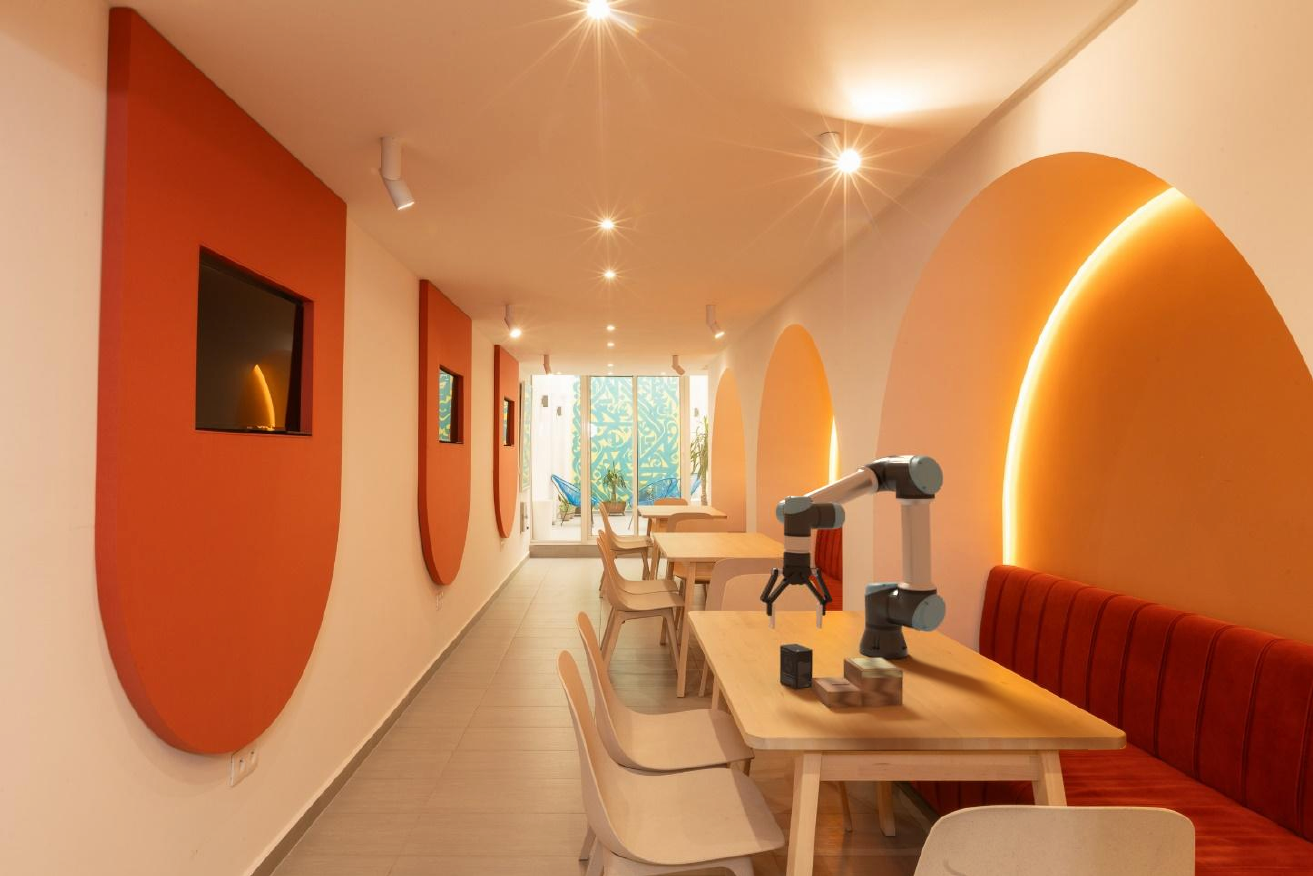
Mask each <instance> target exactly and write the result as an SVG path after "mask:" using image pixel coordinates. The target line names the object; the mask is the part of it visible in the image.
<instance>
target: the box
mask: <svg viewBox="0 0 1313 876" xmlns="http://www.w3.org/2000/svg"><path fill="white" fill-rule="evenodd" d="M779 649H780V650H779V651H780V652H779V653H780V654H779V656H780V657H779V658H780V660H779V666H780V667H779V682H780V684H783V685H786V686H788V687H789V688H791V689H794V690H796V691H798V690H807V689H812V678H813V670H814V669H813V668H814V667H813V663H814V662H813V659H814V657H813V655H814V653H813V652H814V651H813V649H812V648H809V647H806V646H803V645H801V644H798V643H793V644H792V643H791V644H790V643H789V644H780V646H779Z"/></svg>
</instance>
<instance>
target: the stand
mask: <svg viewBox="0 0 1313 876" xmlns="http://www.w3.org/2000/svg"><path fill="white" fill-rule="evenodd" d="M903 677H904V670H903V669H902V668H900V667H899V666H897V665H895V664H893V663H892V662H890V661H889V660H887V659H885V658H876V657H852V658H843V676H833V677H832V676H831V677H829V676H828V677H812V688H811V694H812V695H813V696H815V698H816V699H818V701H820V702H821V703H822V704H823V705H825V707H826V708H829V709H830V708H834V709H835V708H856V707H857V708H858V707H859V708H861V707H863V708H865V707H889V706H890V707H891V706H895V707H896V706H903V693H904V692H903V690H904V689H903V688H904V687H903V686H904V683H903Z"/></svg>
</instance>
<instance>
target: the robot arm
mask: <svg viewBox="0 0 1313 876" xmlns="http://www.w3.org/2000/svg"><path fill="white" fill-rule="evenodd" d="M943 482H944V476H943V470H942V468H941V465H940V464H939V463H938V462H937V461H936V460H935V459H934V458H932V457H930V456H928V455H927V456H926V455H919V454H917V455H888V456H884V457H881V458H877V459H876V460H873V461H870V462H868V463H866V464H864V465H861V466H859V467H857V468H856V469H855V472H853V473H851V474H849V475H847V476H845V477H842V478H840V479H838V480H836V481H833V482H831V483H829V484H826V485H824V486H822V487H820V488H817V489H816V490H814V491H812V492H809V493H807V494H805V495H788V496H786V497H785V499H783V500H781V501H779V502H778V503H777V505H776V508H775V516H776V519H777V521H778V522H779V523H781V524H783V550H784V551H783V553H782V554H783V557H782V558H783V559H782V561H783V562H782V565H783V566H782V569H781V568H776V567H772V568H771V576H770V577H769V579H768V580H767V583H766V585H765V586H764V589H763V591H762V593H761V595H760V597H759V600H760V601H761V602H762V603H765V604H766V606H765V607H766V610H765V611H766V616H768V617H769V623H768V625H769V627H770V628H771V629H773V630H775V629H776V605H775V604H774V602H775V601H776V600H777V599H778V598H779V596H780V595H781V594H782V593H783V592H784V590H785V589H786V588H787V587H788V586H789V585H790V586H797V585H799V586H804V585H806V586H805V587H807V588H808V590H809V591H810V592H811V594H812V595H813V596H814V597H815V598H816V599H817V601H818V602H817V603H816V613H815V615H816V619H815V623H816V624H815V626H816V628H818V629H823V617H825V616H826V614H827V613H826V609H827V608H826V607H827V605H828V603H832V602H833V597H832V595H831V594H830V591H829V589H828V587H827V584H826V582H825V580H824V578H823V571H822V569H821V568H818V567H815V568H813V569H812V568H811V565H812V564H811V563H812V562H811V561H812V560H811V558H812V557H811V556H812V555H811V552H810V551H811V550H812V549H811V548H812V530H833V529H834V530H835V529H839V528H842V527H843V525H844V524H845V522H846V512H845V508H844V507H843V506H842V505H846V504H847V503H849V502H851V501H854V500H855V499H858V498H860V497H862V496H864V495H867V496H872V495H875V494H877V493H882V492H894V493H895V499H896V501H897V502H899V504H900V515H901V516H900V522H901V523H900V524H901V525H900V526H901V567H902V568H901V569H902V570H901V573H902V575H901V576H902V577H901V578H902V580H901V581H899V582H898V581H879V582H877V581H876V582H871V583H867V585H866V586H865V594H864V629H863V633H862V636H861V639H860V641H859V650H858V651H859V653H860V654H862V655H864V656H868V657H870V658H884V659H885V660H887V659H889V660H897V659H904V658H906V657H908V655H909V654H908V653H909V652H908V649H909V648H908V645H907V642H906V639H905V636H904V633H903V627H905V628H909V629H913V630H915V631H918V632H920V631H921V632H926V633H927V632H928V633H929V632H932V631H935V630H937V629H938V628H939V627H940V625H941V624H942V623H943V621H944V619H945V616H946V612H947V606H946V602H945V600H944V598H943V597H942V596H940V595H939V594H938V586H937V585H936V584H935V583H934V582H933V580H932V548H931V547H932V544H931V542H932V541H931V539H932V538H931V504H932V503H933V502H934V500H936V493H939V492H940V490H941V489H942V488H941V487H942V486H943V484H944V483H943ZM781 575H782V576H783V578H782V579H781V581H780V583H779V584H778V585H777V586H776V588H774V587H775V584H776V583H777V580H778V578H779V577H780V576H781ZM811 576H813V577H814V578H815V580H816V582H817V584H818V586H819V588H820V590H821V592H822V594H821V592H819V591H818V588H817V587H815V586H814V584H813V582H812V581H811V580H810V577H811ZM773 589H774V590H773Z"/></svg>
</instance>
